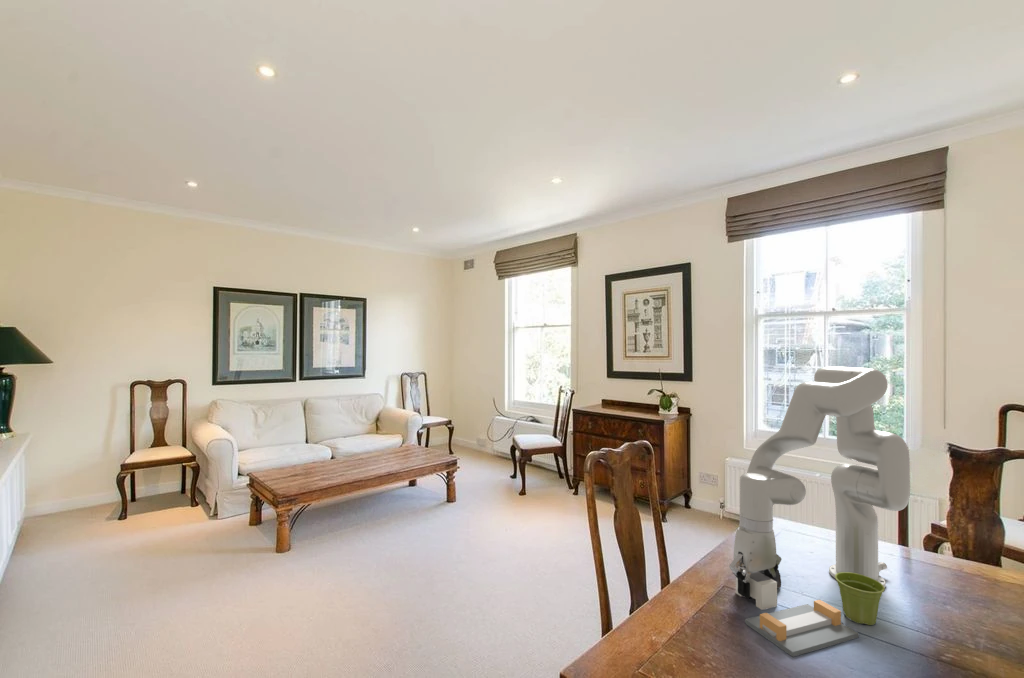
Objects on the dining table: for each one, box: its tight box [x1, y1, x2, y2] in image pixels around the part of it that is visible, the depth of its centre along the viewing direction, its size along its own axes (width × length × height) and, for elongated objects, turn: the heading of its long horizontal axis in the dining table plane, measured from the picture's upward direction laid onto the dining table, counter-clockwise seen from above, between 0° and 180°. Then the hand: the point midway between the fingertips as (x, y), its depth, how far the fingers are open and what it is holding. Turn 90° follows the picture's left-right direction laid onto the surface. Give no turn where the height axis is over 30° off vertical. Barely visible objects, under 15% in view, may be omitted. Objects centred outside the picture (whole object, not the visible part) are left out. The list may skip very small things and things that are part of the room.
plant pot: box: [834, 572, 886, 626], centre depth 108 cm, size 9×9×9 cm
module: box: [735, 570, 778, 611], centre depth 115 cm, size 5×8×6 cm, turn 20°
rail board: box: [744, 599, 860, 658], centre depth 103 cm, size 20×12×4 cm, turn 110°
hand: (755, 592), depth 115 cm, fingers open, 7 cm apart
